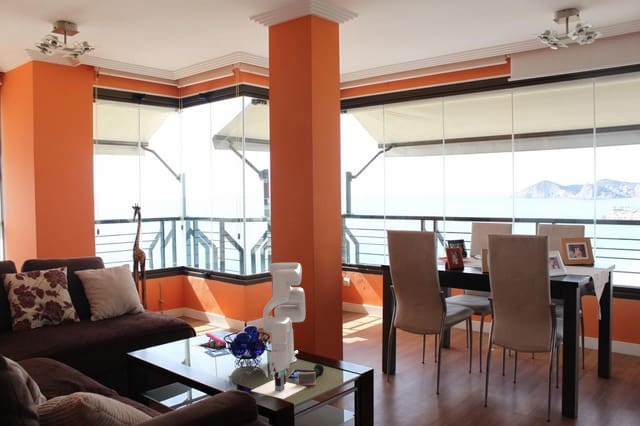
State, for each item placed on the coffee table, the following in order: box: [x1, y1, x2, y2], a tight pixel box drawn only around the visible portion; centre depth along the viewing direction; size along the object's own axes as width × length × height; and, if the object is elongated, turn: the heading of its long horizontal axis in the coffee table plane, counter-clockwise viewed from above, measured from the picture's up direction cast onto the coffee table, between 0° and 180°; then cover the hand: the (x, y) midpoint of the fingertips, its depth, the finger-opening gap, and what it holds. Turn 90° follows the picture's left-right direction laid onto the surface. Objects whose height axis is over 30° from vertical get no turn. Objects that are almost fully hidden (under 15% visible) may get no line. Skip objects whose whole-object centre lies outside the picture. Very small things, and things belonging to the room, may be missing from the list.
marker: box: [275, 370, 284, 392], centre depth 264 cm, size 3×3×10 cm
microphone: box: [312, 363, 325, 377], centre depth 282 cm, size 5×5×19 cm
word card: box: [296, 371, 317, 386], centre depth 272 cm, size 1×9×6 cm, turn 95°
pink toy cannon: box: [198, 332, 227, 351], centre depth 347 cm, size 15×20×7 cm
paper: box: [250, 379, 307, 400], centre depth 267 cm, size 18×20×1 cm
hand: (280, 384), depth 264 cm, fingers closed on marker, 3 cm apart
